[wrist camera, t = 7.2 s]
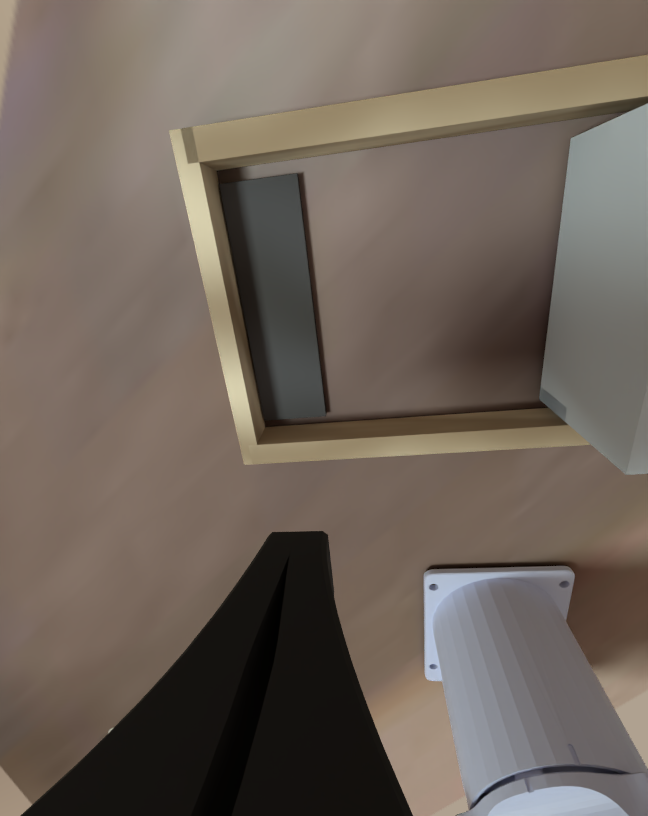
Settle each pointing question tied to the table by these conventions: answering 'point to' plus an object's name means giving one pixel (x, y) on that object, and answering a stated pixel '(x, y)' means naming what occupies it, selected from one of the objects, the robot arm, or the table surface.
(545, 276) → the table surface
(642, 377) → the tray
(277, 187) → the channel
